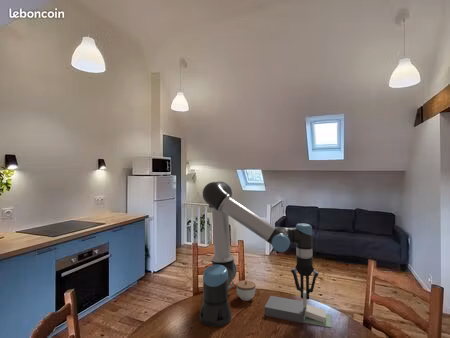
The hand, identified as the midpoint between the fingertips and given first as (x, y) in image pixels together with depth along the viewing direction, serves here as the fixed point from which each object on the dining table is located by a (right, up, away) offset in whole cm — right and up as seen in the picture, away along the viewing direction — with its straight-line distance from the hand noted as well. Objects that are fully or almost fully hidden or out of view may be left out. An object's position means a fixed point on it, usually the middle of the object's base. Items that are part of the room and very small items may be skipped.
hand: (305, 305), depth 126 cm
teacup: (-40, -6, +27) cm, 49 cm away
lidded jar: (-27, -6, +19) cm, 33 cm away
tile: (+4, -4, -2) cm, 6 cm away
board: (-9, -5, +3) cm, 11 cm away
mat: (+5, -5, -2) cm, 8 cm away
